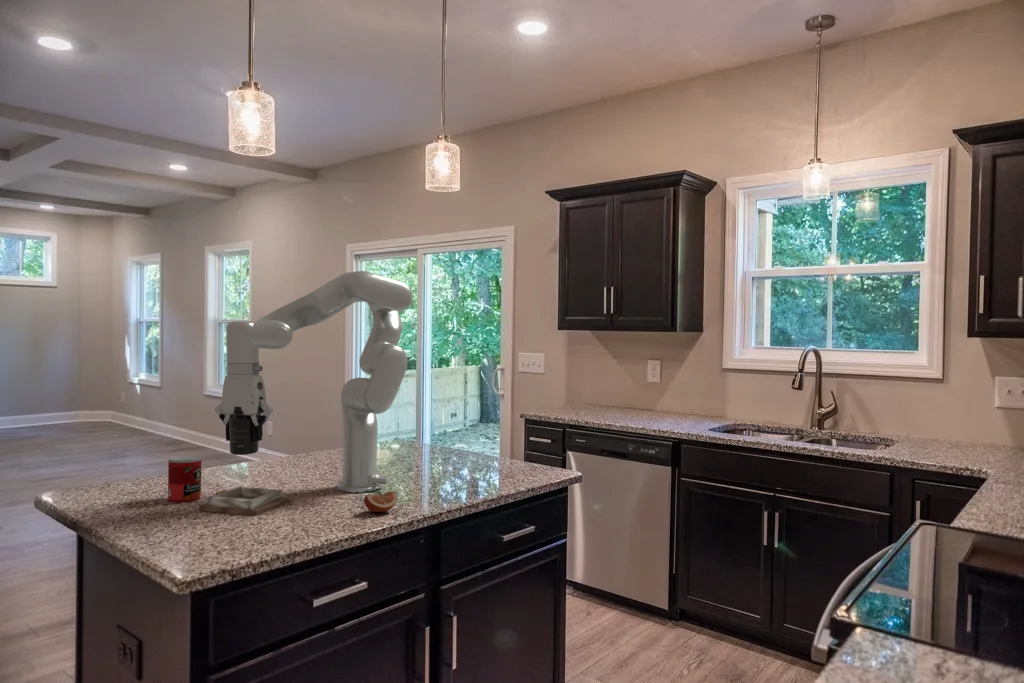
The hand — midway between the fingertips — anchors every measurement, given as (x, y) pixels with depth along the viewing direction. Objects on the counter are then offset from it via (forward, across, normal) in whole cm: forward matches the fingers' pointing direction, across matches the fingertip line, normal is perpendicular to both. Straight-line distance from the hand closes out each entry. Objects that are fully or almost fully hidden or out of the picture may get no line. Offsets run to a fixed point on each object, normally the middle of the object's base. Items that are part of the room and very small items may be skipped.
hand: (244, 439), depth 168 cm
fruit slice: (+18, -35, -5) cm, 40 cm away
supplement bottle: (+3, 0, 0) cm, 3 cm away
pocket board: (+17, 0, 0) cm, 17 cm away
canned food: (+17, +19, -1) cm, 25 cm away
